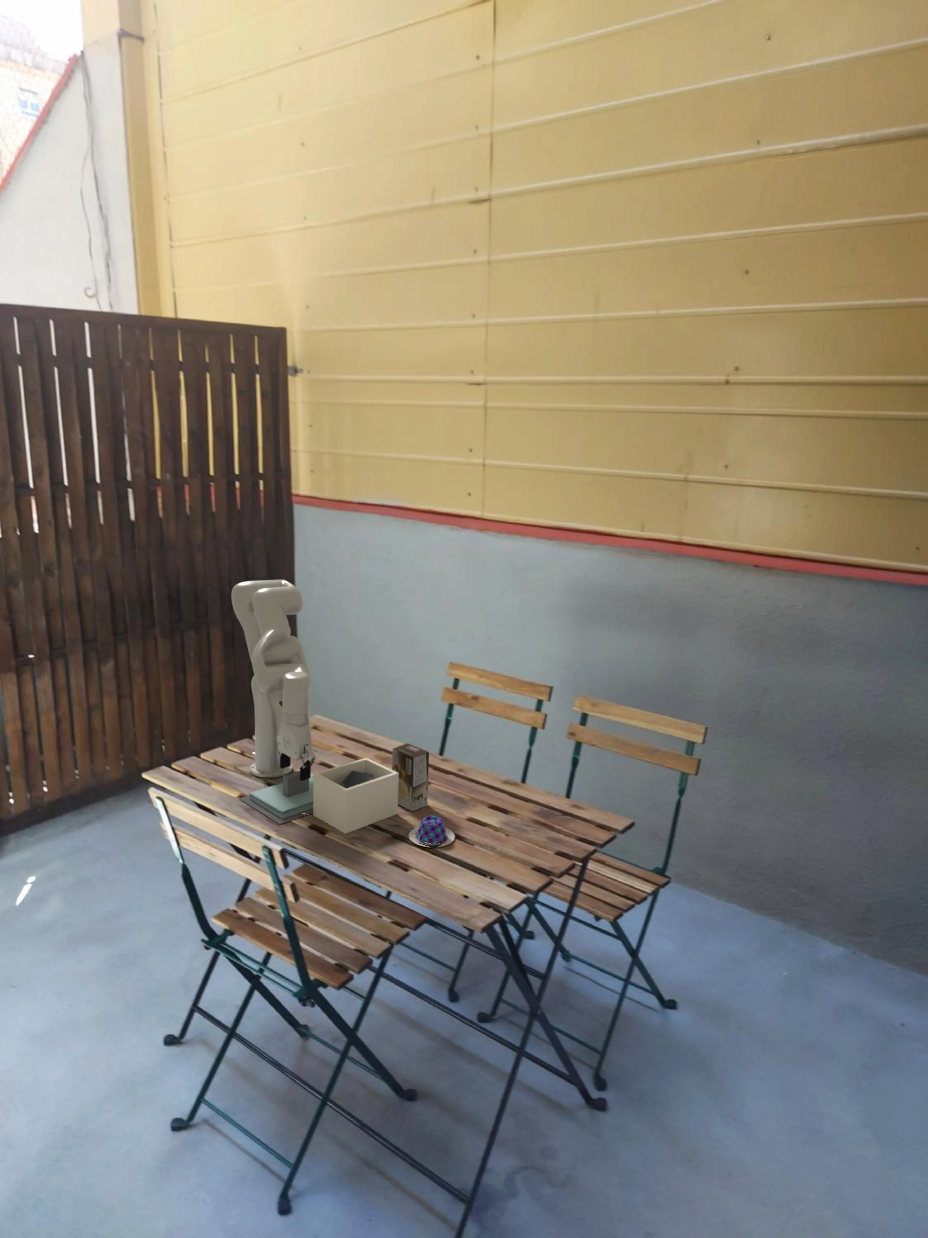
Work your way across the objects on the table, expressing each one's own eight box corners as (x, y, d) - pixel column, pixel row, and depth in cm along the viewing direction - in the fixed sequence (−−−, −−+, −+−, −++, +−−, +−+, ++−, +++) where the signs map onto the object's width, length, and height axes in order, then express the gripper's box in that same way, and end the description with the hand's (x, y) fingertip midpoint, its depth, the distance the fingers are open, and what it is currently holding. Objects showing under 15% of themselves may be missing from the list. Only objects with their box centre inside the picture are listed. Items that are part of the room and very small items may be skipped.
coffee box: (428, 805, 234) (430, 751, 231) (412, 812, 230) (414, 757, 226) (406, 794, 240) (408, 742, 237) (389, 801, 236) (391, 748, 232)
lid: (249, 798, 232) (249, 774, 231) (308, 780, 246) (308, 757, 245) (281, 818, 221) (281, 793, 220) (341, 798, 235) (342, 774, 234)
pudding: (408, 827, 221) (408, 809, 220) (452, 827, 222) (453, 809, 221) (409, 850, 209) (410, 831, 208) (456, 849, 211) (457, 830, 210)
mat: (239, 799, 232) (239, 798, 232) (310, 777, 249) (310, 776, 249) (279, 824, 219) (279, 823, 218) (352, 799, 235) (352, 798, 235)
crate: (313, 815, 225) (313, 773, 222) (365, 797, 238) (366, 757, 235) (344, 833, 215) (345, 791, 213) (397, 814, 228) (398, 773, 225)
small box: (360, 825, 221) (361, 788, 219) (337, 821, 222) (338, 785, 220) (372, 808, 231) (373, 773, 229) (350, 805, 232) (351, 770, 230)
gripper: (267, 709, 232) (266, 766, 236) (302, 729, 220) (301, 788, 225) (289, 704, 237) (288, 759, 241) (326, 723, 225) (324, 780, 230)
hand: (295, 773), depth 233 cm, fingers open, 9 cm apart
